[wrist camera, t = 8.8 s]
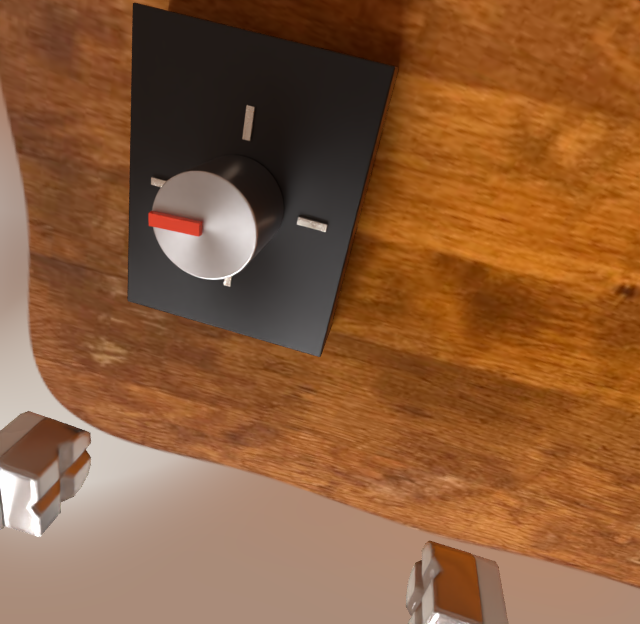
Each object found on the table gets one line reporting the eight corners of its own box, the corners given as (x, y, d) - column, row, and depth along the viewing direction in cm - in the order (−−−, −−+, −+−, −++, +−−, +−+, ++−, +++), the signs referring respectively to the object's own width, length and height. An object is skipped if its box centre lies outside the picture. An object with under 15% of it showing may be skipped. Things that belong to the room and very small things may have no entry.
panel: (330, 330, 28) (319, 359, 25) (154, 280, 28) (125, 302, 26) (399, 67, 21) (395, 66, 18) (167, 10, 22) (129, 1, 19)
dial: (289, 165, 21) (260, 184, 17) (278, 257, 23) (250, 293, 19) (195, 146, 21) (145, 161, 17) (192, 238, 23) (148, 270, 20)
